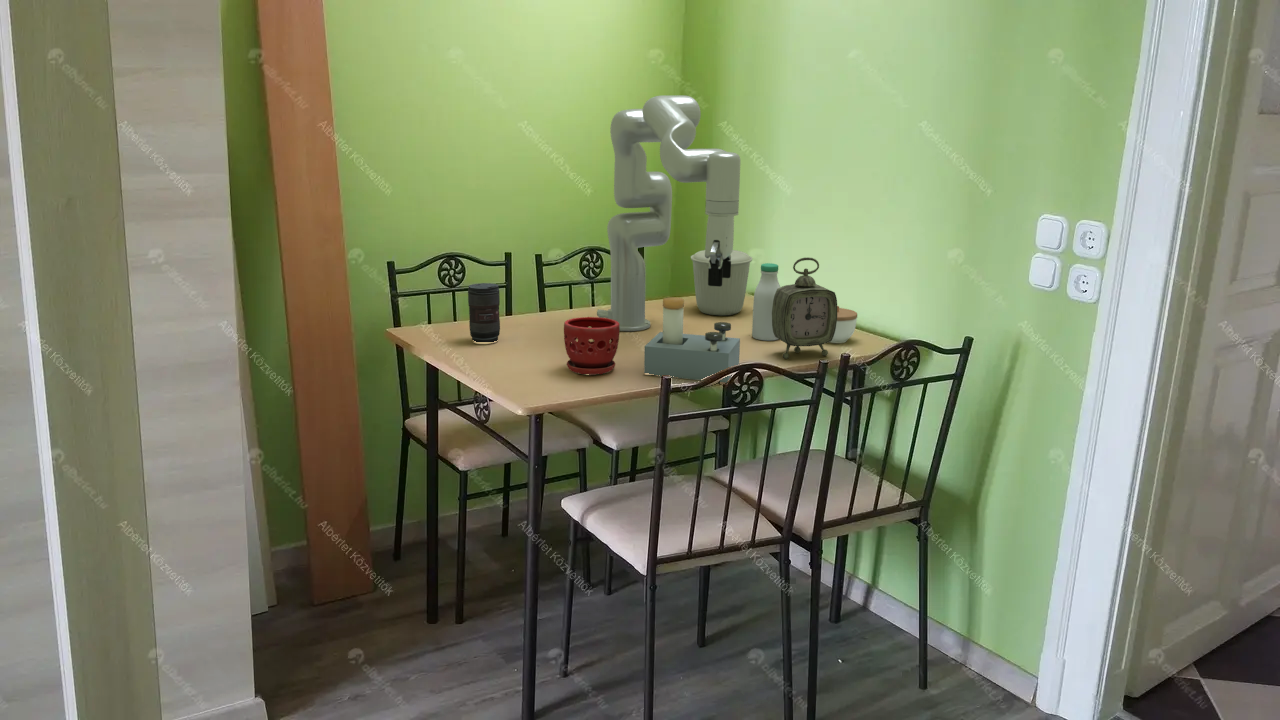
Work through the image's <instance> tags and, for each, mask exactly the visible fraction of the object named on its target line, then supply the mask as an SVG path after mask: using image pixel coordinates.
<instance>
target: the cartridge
mask: <svg viewBox="0 0 1280 720" xmlns="http://www.w3.org/2000/svg"><path fill="white" fill-rule="evenodd" d="M684 308H685V298H682V297H675V296H673V297H672V296H671V297H664V298H662V332H663V343H665V344H676V345H683V334H684Z"/></svg>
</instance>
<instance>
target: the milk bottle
mask: <svg viewBox="0 0 1280 720" xmlns="http://www.w3.org/2000/svg"><path fill="white" fill-rule="evenodd" d="M760 273H761V276H760V279H759V281H758V284H757V286H756V288H755V290H754V295H753V302H752V303H753V307H752V323H751V324H752V326H751V327H752V328H751V330H752V331H751V336H752V337H753V339H755V340H759V341H770V342H771V341H777V340H779V339H778V338H776V337H775V335H774V333H773V328H772V308H773V300H774V296H775V293H776V291H777V289H778V288H780V287H781V285H780V282H779V280H778V279H779V278H778V274H779V265H778V264H777V263H772V262H771V263H770V262H767V263H766V262H765V263H761V265H760Z"/></svg>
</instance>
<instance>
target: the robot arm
mask: <svg viewBox="0 0 1280 720" xmlns="http://www.w3.org/2000/svg"><path fill="white" fill-rule="evenodd" d="M701 114H702V113H701V108H700V105H699V103H698V101H697V100H696V99H695V98H693V97H692V96H689V95H680V94H679V95H667V94H666V95H656V96H653V97H650V98H648V100H647V101H645V103H644V104H643V106H642V108H631V109H623V110H620V111H618V112H616V113H615V114H614V116H613V117H612V118H611V119H612V120H611V121H610V122H611V123H610V139H611V145H612V148H613V153H614V171H613V174H614V178H613V179H614V180H613V196H614V201H615V204H616V205H617V206H618V207H620V208H624V209H640V208H641V209H642V208H644V209H645V208H649V211H637V212H636V211H634V212H622V213H619V214H618V213H617V214H615V215H614V216H612V217H610V219H609V220H608V223H607V229H606V230H607V231H606V232H607V237H608V243H609V250H610V308H608V310H605V309H597V311H596V317H600V318H608V319H612V320H615V321H617V322H619V324H620V330H619V332H636V331H637V332H639V331H644V330H647V329H649V328H651V321H650V320H649V319H646V263H645V260H644V258H643V256H642V254H640V252H639V251H638V249H639V248H643V247H644V248H647V247H649V248H650V247H658V246H663V245H666V243H667V242H668V240H669V239H670V235H671V227H672V205H673V204H672V203H673V187H672V183H671V180H670V178H669V176H670V177H671V178H673V180H675V181H677V182H679V183H684V184H685V183H705V185H706V186H705V212H704V214H705V215H708V216H707V223H706V233H705V234H706V235H705V247H704V250H705V257H706V258H709V257H710V261H709V268H708V285H709V286H719V287H721V286H722V278H730V277H731V253H732V251H733V250H734V236H735V234H734V233H735V216H738V215H739V211H740V209H739V207H740V206H739V205H740V204H739V203H740V182H741V156H740V155H739V154H738V153H736V152H732V151H726V150H725V149H723V148H722V149H721V148H689V147H690V146H691V145H692V144H693V142H694V141H695V138H696V137H697V136H696V135H697V130H696V128H697V127H698V125H699V123H700V121H701V116H702V115H701ZM641 143H660V144H659V145H660V146H659V157H660V162H661V164H662V165H661V166H663V168H664V170H665V171H666V172H667V173H668V174H669V176H668V175H667V174H666V173H664V172H661V171H647V154H646V151H645V150H644V147H643V146H642V144H641ZM688 148H689V149H688Z"/></svg>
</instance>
